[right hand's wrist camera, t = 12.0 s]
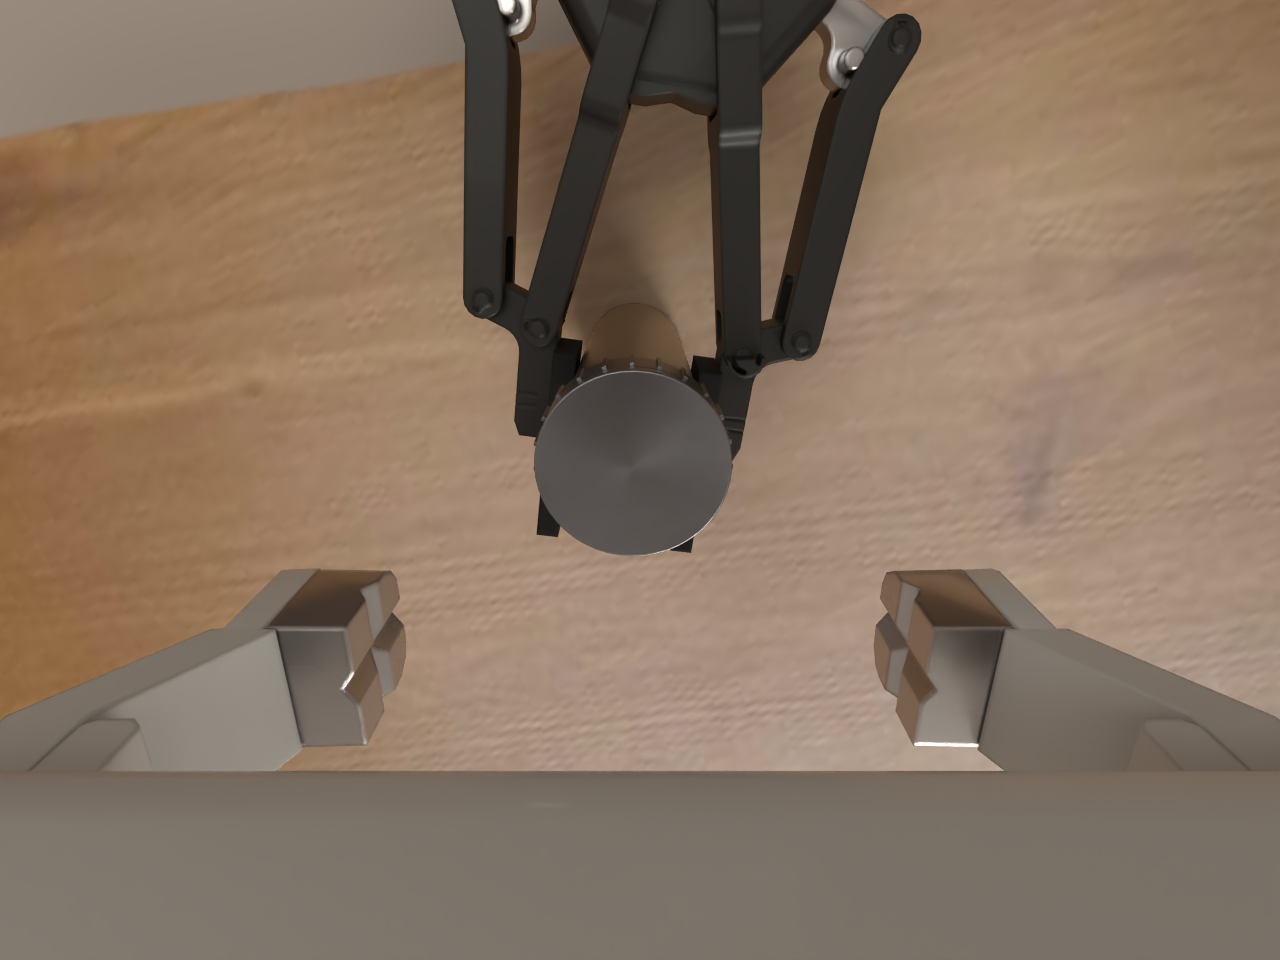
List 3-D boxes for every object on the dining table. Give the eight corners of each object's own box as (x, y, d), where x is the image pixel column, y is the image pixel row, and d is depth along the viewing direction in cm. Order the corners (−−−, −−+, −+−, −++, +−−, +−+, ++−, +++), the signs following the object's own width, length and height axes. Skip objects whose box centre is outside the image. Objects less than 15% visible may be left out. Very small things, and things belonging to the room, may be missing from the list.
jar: (641, 413, 31) (645, 566, 18) (569, 357, 30) (516, 473, 17) (699, 343, 30) (751, 449, 17) (626, 283, 29) (618, 343, 16)
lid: (647, 564, 19) (648, 594, 18) (502, 461, 18) (489, 483, 16) (765, 433, 18) (777, 452, 16) (616, 313, 17) (615, 322, 15)
